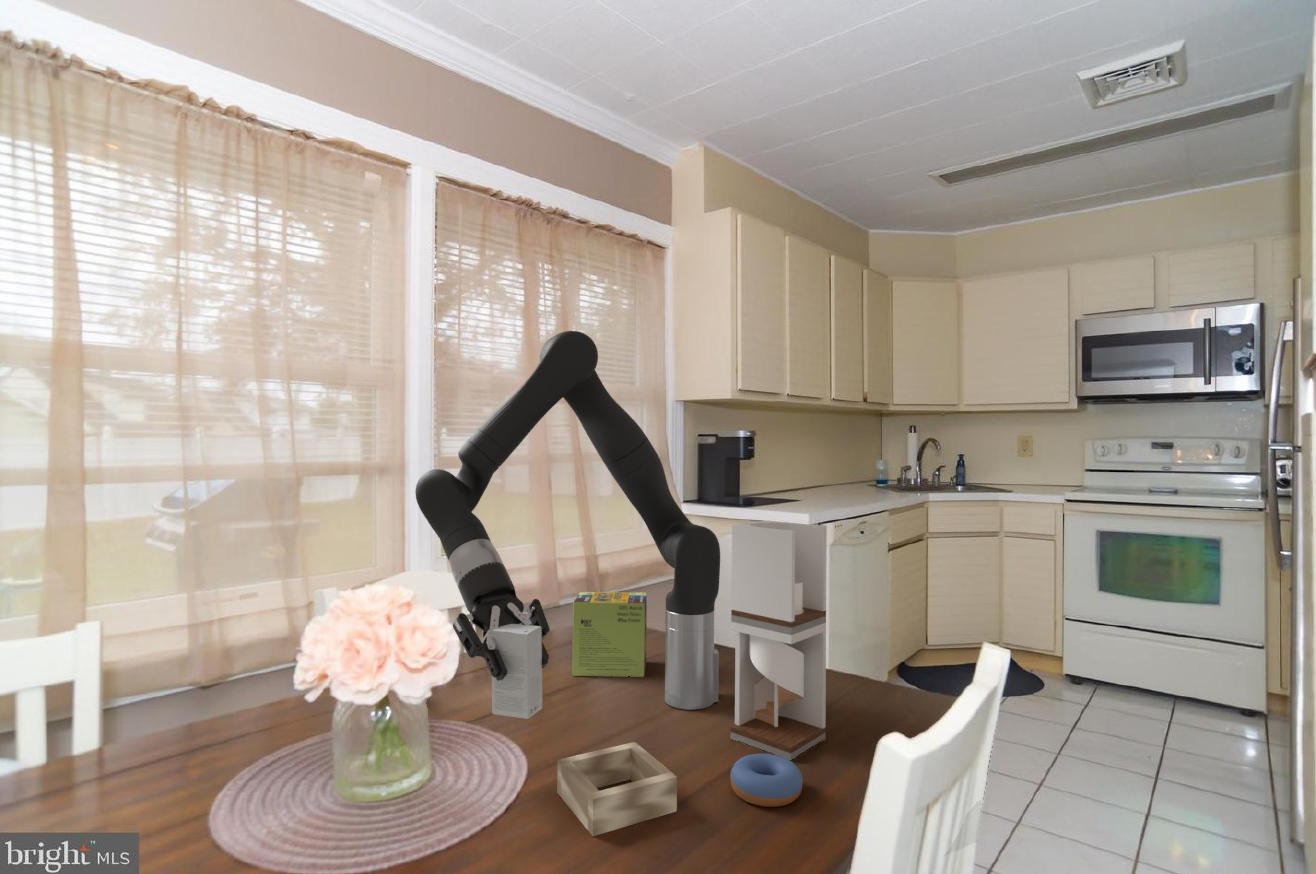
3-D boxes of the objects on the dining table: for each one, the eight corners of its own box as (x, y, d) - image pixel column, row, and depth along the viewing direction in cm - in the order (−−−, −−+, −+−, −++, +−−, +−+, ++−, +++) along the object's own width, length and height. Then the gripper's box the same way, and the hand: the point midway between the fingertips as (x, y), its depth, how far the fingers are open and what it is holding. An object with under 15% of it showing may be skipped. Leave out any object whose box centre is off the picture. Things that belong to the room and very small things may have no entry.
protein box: (645, 677, 141) (645, 602, 141) (571, 676, 141) (571, 601, 141) (646, 661, 151) (647, 591, 151) (577, 660, 151) (578, 591, 152)
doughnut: (787, 818, 87) (786, 780, 88) (717, 800, 92) (717, 764, 93) (813, 793, 95) (812, 758, 96) (748, 778, 101) (748, 745, 101)
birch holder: (634, 772, 99) (634, 741, 99) (676, 811, 89) (677, 776, 89) (557, 792, 93) (557, 759, 93) (592, 836, 83) (593, 799, 83)
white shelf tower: (730, 739, 111) (732, 525, 112) (766, 720, 119) (768, 520, 120) (790, 761, 103) (792, 531, 104) (825, 739, 111) (826, 526, 112)
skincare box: (543, 708, 98) (543, 626, 98) (528, 720, 94) (528, 634, 94) (506, 703, 100) (506, 622, 100) (490, 714, 96) (490, 630, 96)
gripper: (445, 567, 97) (488, 669, 89) (530, 555, 108) (576, 646, 99) (428, 598, 101) (468, 699, 93) (512, 583, 111) (554, 673, 103)
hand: (523, 671), depth 96 cm, fingers closed on skincare box, 6 cm apart
